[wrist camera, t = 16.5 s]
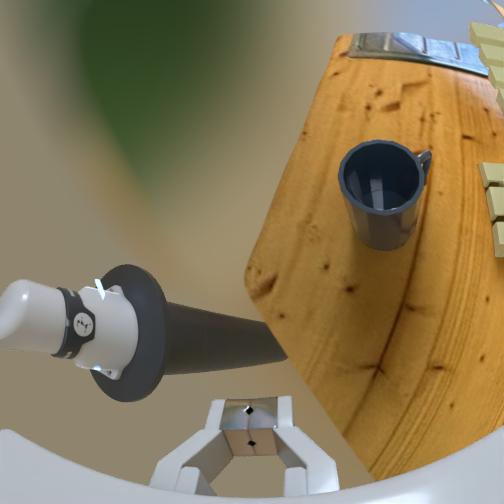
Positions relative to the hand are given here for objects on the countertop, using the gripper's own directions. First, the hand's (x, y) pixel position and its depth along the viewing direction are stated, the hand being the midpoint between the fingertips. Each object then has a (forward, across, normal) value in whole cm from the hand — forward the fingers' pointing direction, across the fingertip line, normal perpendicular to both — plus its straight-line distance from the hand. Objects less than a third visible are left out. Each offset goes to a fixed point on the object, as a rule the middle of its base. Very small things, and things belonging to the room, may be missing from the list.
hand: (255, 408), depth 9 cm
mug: (+24, -16, -3) cm, 29 cm away
